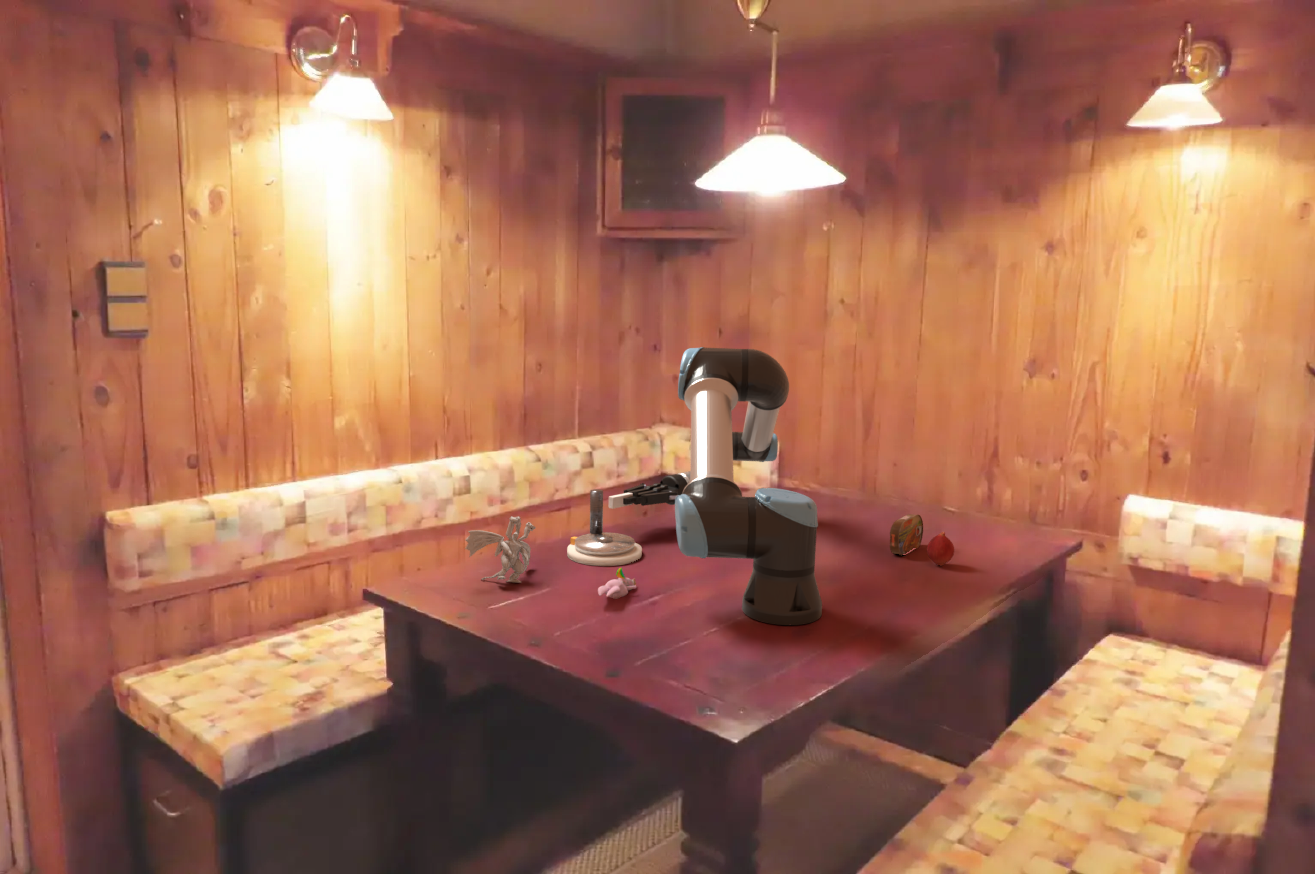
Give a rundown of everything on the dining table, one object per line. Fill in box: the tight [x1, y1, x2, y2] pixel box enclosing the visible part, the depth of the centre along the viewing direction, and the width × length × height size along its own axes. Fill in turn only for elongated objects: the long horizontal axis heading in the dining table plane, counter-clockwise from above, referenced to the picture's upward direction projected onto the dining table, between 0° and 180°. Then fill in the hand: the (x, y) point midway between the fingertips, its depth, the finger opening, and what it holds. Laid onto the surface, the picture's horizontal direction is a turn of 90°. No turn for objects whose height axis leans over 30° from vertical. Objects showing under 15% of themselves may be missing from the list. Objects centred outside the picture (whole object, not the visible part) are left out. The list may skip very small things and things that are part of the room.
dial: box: [575, 488, 636, 556], centre depth 208 cm, size 14×14×12 cm
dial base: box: [566, 536, 643, 567], centre depth 209 cm, size 17×17×3 cm
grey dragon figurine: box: [464, 515, 536, 584], centre depth 190 cm, size 10×18×14 cm, turn 136°
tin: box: [889, 513, 924, 556], centre depth 216 cm, size 15×3×8 cm, turn 143°
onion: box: [926, 531, 955, 566], centre depth 205 cm, size 6×6×8 cm
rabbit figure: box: [597, 567, 637, 600], centre depth 181 cm, size 6×6×15 cm
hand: (610, 502), depth 216 cm, fingers closed
